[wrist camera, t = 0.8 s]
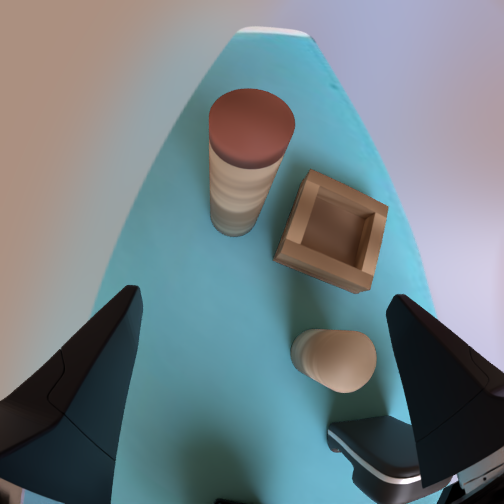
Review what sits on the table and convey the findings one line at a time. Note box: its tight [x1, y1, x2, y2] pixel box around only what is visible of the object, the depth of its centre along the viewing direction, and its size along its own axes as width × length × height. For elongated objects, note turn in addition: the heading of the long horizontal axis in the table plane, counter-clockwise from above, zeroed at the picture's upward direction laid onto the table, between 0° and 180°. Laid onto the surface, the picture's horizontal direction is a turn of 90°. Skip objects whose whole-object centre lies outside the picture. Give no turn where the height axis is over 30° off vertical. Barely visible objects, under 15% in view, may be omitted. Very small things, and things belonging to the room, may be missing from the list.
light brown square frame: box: [273, 169, 388, 294], centre depth 24 cm, size 8×8×3 cm
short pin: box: [291, 329, 377, 393], centre depth 20 cm, size 4×4×7 cm
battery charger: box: [328, 416, 453, 504], centre depth 16 cm, size 7×4×11 cm, turn 85°
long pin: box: [209, 89, 295, 237], centre depth 19 cm, size 4×4×13 cm
